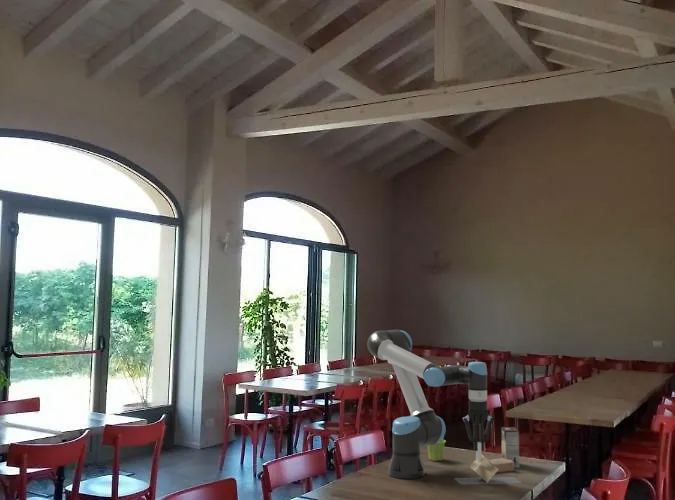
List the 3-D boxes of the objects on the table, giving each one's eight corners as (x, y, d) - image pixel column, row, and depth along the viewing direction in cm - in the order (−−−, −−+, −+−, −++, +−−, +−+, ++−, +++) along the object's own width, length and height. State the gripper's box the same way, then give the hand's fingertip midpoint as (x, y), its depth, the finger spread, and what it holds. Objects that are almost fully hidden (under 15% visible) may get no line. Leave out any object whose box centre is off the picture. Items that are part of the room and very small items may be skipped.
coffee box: (501, 462, 318) (500, 426, 319) (515, 462, 317) (514, 426, 319) (505, 467, 308) (505, 430, 310) (520, 467, 308) (519, 430, 309)
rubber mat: (460, 485, 278) (460, 484, 278) (453, 479, 288) (453, 478, 288) (522, 484, 281) (522, 483, 281) (513, 477, 290) (513, 476, 290)
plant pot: (423, 461, 320) (423, 441, 320) (427, 456, 329) (427, 438, 329) (444, 462, 317) (444, 443, 317) (447, 458, 326) (447, 439, 326)
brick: (481, 475, 295) (481, 464, 296) (471, 470, 303) (471, 459, 304) (515, 472, 301) (515, 461, 301) (504, 468, 309) (504, 457, 309)
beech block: (474, 471, 280) (486, 457, 281) (469, 467, 287) (480, 454, 288) (487, 482, 281) (498, 469, 281) (482, 478, 288) (493, 465, 288)
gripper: (464, 401, 282) (465, 461, 280) (496, 401, 283) (497, 460, 281) (459, 399, 289) (460, 457, 287) (490, 398, 290) (491, 456, 289)
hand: (478, 458), depth 284 cm, fingers closed
